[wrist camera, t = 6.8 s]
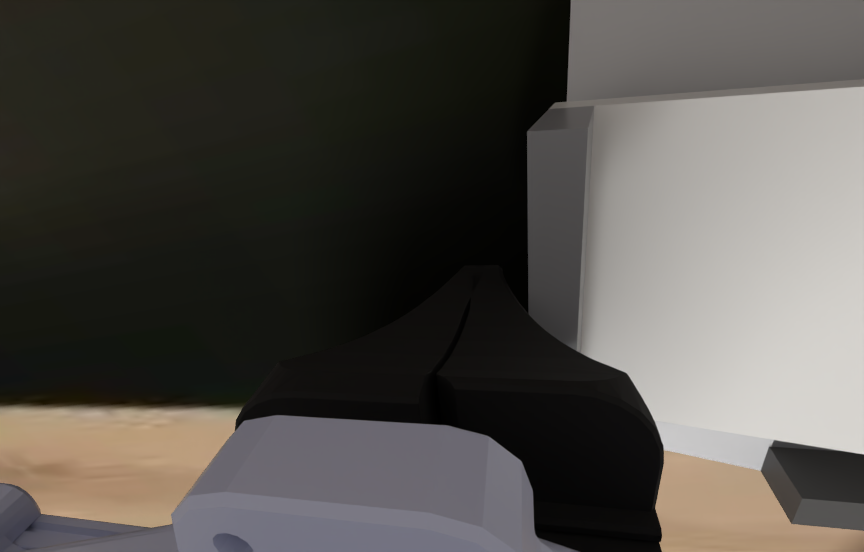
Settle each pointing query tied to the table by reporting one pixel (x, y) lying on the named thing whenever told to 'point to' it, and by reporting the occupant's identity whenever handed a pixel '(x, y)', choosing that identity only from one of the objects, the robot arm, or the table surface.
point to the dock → (720, 70)
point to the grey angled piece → (710, 253)
